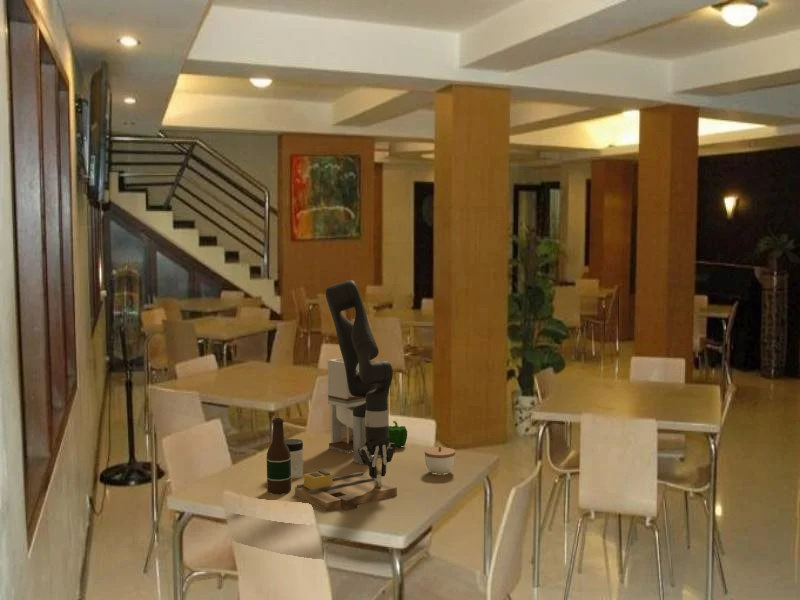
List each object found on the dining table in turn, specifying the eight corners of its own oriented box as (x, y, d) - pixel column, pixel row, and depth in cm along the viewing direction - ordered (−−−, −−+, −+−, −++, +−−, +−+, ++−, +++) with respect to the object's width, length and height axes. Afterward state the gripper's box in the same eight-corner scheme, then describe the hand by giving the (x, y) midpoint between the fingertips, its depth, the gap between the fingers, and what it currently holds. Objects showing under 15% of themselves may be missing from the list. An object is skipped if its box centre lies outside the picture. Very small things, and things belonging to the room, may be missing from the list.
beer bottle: (280, 496, 272) (279, 422, 270) (262, 492, 276) (260, 419, 275) (296, 489, 279) (294, 417, 277) (277, 486, 283) (276, 415, 281)
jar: (285, 480, 290) (284, 445, 289) (274, 474, 297) (274, 441, 296) (308, 476, 295) (307, 442, 294) (297, 470, 302) (297, 437, 301)
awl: (379, 485, 274) (378, 455, 273) (384, 487, 271) (383, 457, 271) (371, 487, 272) (370, 456, 271) (376, 489, 270) (376, 458, 269)
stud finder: (323, 482, 277) (322, 469, 277) (332, 486, 272) (332, 473, 272) (304, 486, 273) (304, 472, 273) (313, 490, 268) (313, 476, 268)
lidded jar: (429, 467, 304) (429, 442, 303) (458, 469, 301) (458, 443, 300) (421, 475, 294) (421, 449, 293) (451, 478, 291) (451, 451, 290)
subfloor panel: (358, 479, 291) (358, 469, 290) (402, 497, 269) (402, 487, 269) (290, 492, 276) (290, 482, 275) (331, 513, 254) (331, 502, 254)
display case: (329, 448, 334) (327, 360, 331) (350, 443, 341) (348, 357, 338) (347, 453, 325) (346, 362, 323) (368, 448, 332) (367, 360, 330)
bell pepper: (407, 449, 331) (407, 423, 330) (386, 449, 331) (386, 424, 330) (407, 444, 339) (406, 419, 339) (386, 444, 339) (386, 419, 338)
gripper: (388, 418, 277) (388, 470, 278) (351, 424, 269) (352, 478, 270) (401, 422, 271) (402, 475, 272) (364, 428, 263) (365, 483, 264)
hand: (377, 476), depth 271 cm, fingers closed on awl, 3 cm apart
